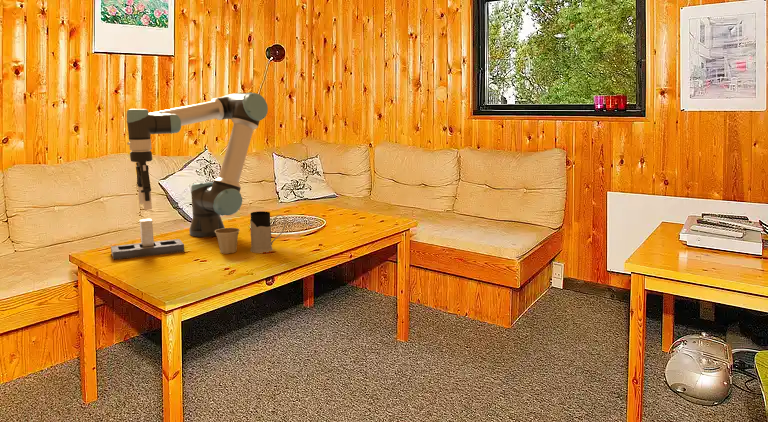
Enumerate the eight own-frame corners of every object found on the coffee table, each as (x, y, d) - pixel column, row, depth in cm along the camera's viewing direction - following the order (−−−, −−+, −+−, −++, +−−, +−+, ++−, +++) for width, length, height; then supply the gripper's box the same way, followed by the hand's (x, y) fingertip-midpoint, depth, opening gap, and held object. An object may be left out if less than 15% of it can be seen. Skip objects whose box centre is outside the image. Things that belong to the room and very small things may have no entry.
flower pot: (214, 255, 209) (213, 233, 208) (216, 249, 219) (215, 228, 217) (239, 254, 211) (238, 232, 210) (241, 248, 220) (240, 227, 219)
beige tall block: (153, 250, 215) (150, 218, 213) (154, 253, 212) (152, 220, 209) (142, 252, 213) (139, 219, 211) (143, 254, 210) (140, 221, 207)
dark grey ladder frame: (179, 246, 223) (179, 238, 222) (184, 251, 214) (183, 244, 214) (111, 253, 210) (110, 246, 210) (113, 260, 202) (112, 252, 201)
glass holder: (249, 248, 220) (247, 211, 218) (284, 245, 225) (283, 209, 223) (251, 253, 212) (250, 215, 210) (288, 250, 217) (287, 213, 215)
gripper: (126, 148, 214) (131, 202, 218) (133, 153, 193) (138, 213, 197) (147, 147, 217) (151, 200, 222) (156, 152, 196) (161, 210, 200)
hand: (145, 206), depth 209 cm, fingers open, 13 cm apart
